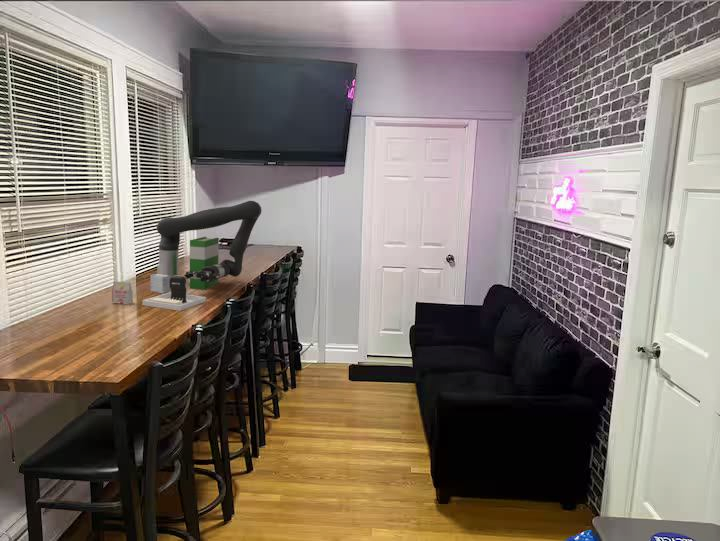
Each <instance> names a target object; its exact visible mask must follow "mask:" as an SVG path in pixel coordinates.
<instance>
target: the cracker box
mask: <svg viewBox="0 0 720 541" xmlns="http://www.w3.org/2000/svg"><path fill="white" fill-rule="evenodd" d="M151 301H154V302H161V303H168V304H174V305H182V301H179V300H171V299H164V298H154V299H151Z"/></svg>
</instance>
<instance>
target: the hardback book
mask: <svg viewBox="0 0 720 541" xmlns="http://www.w3.org/2000/svg"><path fill="white" fill-rule="evenodd" d="M219 242H220V241H219V237H213V238H210V237H209V238H208V237H207V236H202V237H198V238H194V239H190V240H189V271H193V270H195V271H201V270H202V269H203V268H204V267H206V266H210V265H215V264H219V250H220V248H219V244H220V243H219ZM192 277H193V276H192ZM196 277H197V275H196ZM217 284H219V279H218V280H215V281H211V282H206V281H203V282H201V279H194V278H189V289H192V290H201V291H202V290H203V291H204V290H207V289H209V288H211V287H213V286H216V285H217Z"/></svg>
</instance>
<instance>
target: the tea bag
mask: <svg viewBox="0 0 720 541" xmlns="http://www.w3.org/2000/svg"><path fill="white" fill-rule="evenodd" d="M111 290H112V291H111V303H112V302H120V303H126V304H129V303H130V302H133V303H134V300H133V299H134V295H133V293H134V292H133V288H132V285H131V282H129V281H113V285H112V289H111ZM129 305H130V304H129Z"/></svg>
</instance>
